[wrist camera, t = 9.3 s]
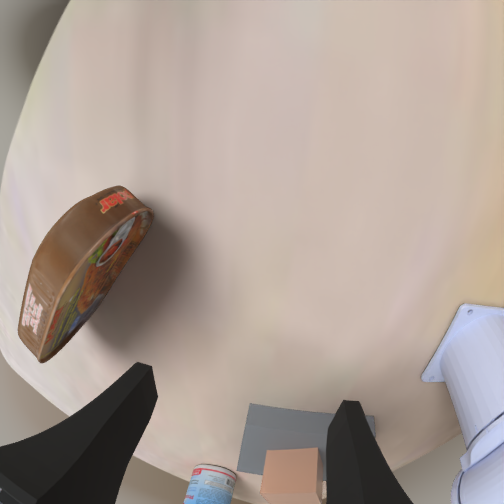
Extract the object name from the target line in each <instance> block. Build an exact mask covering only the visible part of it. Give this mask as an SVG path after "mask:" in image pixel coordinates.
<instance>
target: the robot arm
mask: <svg viewBox="0 0 504 504" xmlns="http://www.w3.org/2000/svg"><path fill="white" fill-rule="evenodd" d="M469 310H470V311H469ZM468 311H469V312H468ZM421 379H422V381H423V382H445V383H446V385H447V388H448V391H449V394H450V397H451V400H452V403H453V406H454V409H455V412H456V415H457V418H458V421H459V424H460V428H461V431H462V435H463V438H464V441H465V445H466V449H467V452H466V453H465V454H464V455H463V456H461V457H460V461H461V466H462V469H461V470H460V471H459V473H458V474H457V475H456V477H455V479H454V482H453V485H452V490H451V504H504V308H500V307H491V306H483V305H475V304H463V305H461V306H460V307H459V309H458V311H457V313H456V315H455V317H454V319H453V321H452V323H451V325H450V327H449V329H448V331H447V333H446V335H445V336H444V338H443V340H442V342H441V344H440V345H439V347H438V349H437V351H436V352H435V354H434V356H433V358H432V359H431V361H430V363H429V364H428V366H427V367H426V369H425V371H424V372H423V374H422V376H421ZM157 398H158V395H157V390H156V385H155V380H154V375H153V370H152V366H150V365H146V364H143V363H140V362H137V363H135V364H134V365H133V366H132V367H131V368H130V369H129V370H128V371H126V372H125V373H124V374H123V375H122V376H121V377H120V378H119V379H118V380H117V381H115V382H114V383H113V384H112V385H111V386H110V387H109V388H107V389H106V390H105V391H104V392H103V393H101V394H100V395H99V396H98V397H96V398H95V399H94V400H93V401H91V402H90V403H89V404H87V405H86V406H85V407H83V408H82V409H81V410H79V411H78V412H76V413H75V414H73V415H72V416H70V417H69V418H67V419H65V420H64V421H62V422H60V423H59V424H57V425H55V426H53V427H51V428H49V429H47V430H45V431H43V432H41V433H39V434H37V435H34V436H32V437H29V438H26V439H24V440H21V441H19V442H15V443H12V444H9V445H5V446H1V447H0V504H115V502H116V498H117V495H118V492H119V488H120V485H121V482H122V479H123V476H124V473H125V471H126V468H127V465H128V463H129V461H130V459H131V457H132V455H133V453H134V451H135V449H136V447H137V445H138V443H139V441H140V439H141V437H142V435H143V433H144V431H145V429H146V427H147V425H148V423H149V421H150V419H151V416H152V413H153V410H154V407H155V404H156V401H157ZM326 482H327V502H326V504H413V503H412V501H411V500H410V499H409V497H408V496H407V494H406V493H405V492H404V490H403V489H402V487H401V486H400V484H399V483H398V481H397V480H396V478H395V476H394V475H393V473H392V471H391V469H390V468H389V466H388V464H387V462H386V460H385V458H384V456H383V454H382V452H381V450H380V448H379V446H378V444H377V442H376V440H375V438H374V435H373V433H372V431H371V429H370V426H369V424H368V422H367V419H366V417H365V414H364V412H363V409H362V407H361V404H360V402H359V401H347V400H343V402H342V403H341V405H340V407H339V409H338V411H337V413H336V414H335V416H334V418H333V420H332V422H331V423H330V425H329V427H328V432H327V443H326Z"/></svg>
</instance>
